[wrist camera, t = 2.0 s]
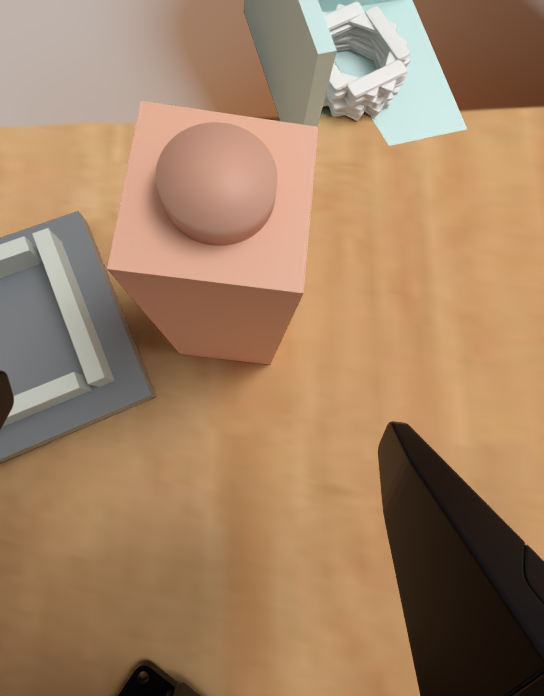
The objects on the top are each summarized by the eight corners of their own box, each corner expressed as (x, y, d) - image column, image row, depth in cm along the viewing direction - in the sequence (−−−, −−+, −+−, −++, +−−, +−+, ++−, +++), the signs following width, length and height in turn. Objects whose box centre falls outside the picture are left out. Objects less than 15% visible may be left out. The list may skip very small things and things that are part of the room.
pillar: (270, 364, 22) (308, 281, 9) (180, 354, 22) (95, 255, 9) (278, 280, 23) (324, 104, 10) (193, 269, 23) (132, 75, 10)
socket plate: (156, 396, 21) (144, 392, 18) (-56, 486, 19) (-103, 496, 17) (86, 222, 23) (66, 195, 20) (-114, 291, 21) (-165, 272, 18)
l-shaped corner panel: (295, 165, 24) (318, 54, 17) (244, 11, 26) (244, -148, 19) (467, 129, 26) (555, 11, 19) (406, -14, 28) (464, -171, 21)
